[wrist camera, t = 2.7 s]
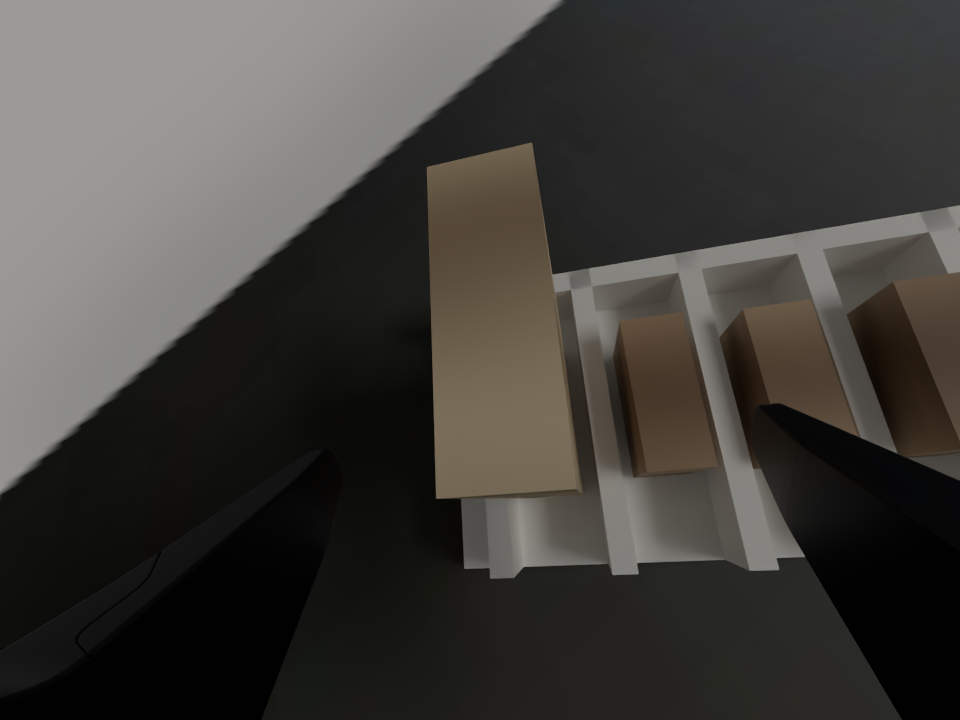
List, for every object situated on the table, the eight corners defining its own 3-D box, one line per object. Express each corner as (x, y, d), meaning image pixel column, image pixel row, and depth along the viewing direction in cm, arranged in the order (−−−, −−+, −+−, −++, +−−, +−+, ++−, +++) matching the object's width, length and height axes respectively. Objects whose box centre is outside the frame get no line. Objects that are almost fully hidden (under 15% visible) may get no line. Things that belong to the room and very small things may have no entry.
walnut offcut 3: (937, 455, 15) (1056, 441, 11) (870, 460, 15) (962, 448, 11) (884, 322, 16) (972, 270, 13) (825, 329, 17) (893, 281, 13)
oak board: (583, 494, 17) (576, 488, 6) (532, 498, 17) (436, 498, 6) (564, 352, 19) (532, 142, 8) (519, 358, 19) (426, 167, 8)
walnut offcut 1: (688, 473, 16) (718, 466, 13) (633, 478, 17) (646, 472, 13) (662, 350, 18) (682, 311, 14) (612, 356, 18) (619, 321, 15)
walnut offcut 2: (806, 465, 15) (864, 456, 12) (746, 469, 16) (786, 462, 13) (768, 336, 17) (810, 299, 14) (714, 343, 17) (742, 308, 14)
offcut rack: (1027, 545, 14) (1150, 558, 11) (469, 565, 18) (445, 579, 15) (902, 255, 18) (968, 204, 15) (457, 323, 21) (436, 294, 18)
